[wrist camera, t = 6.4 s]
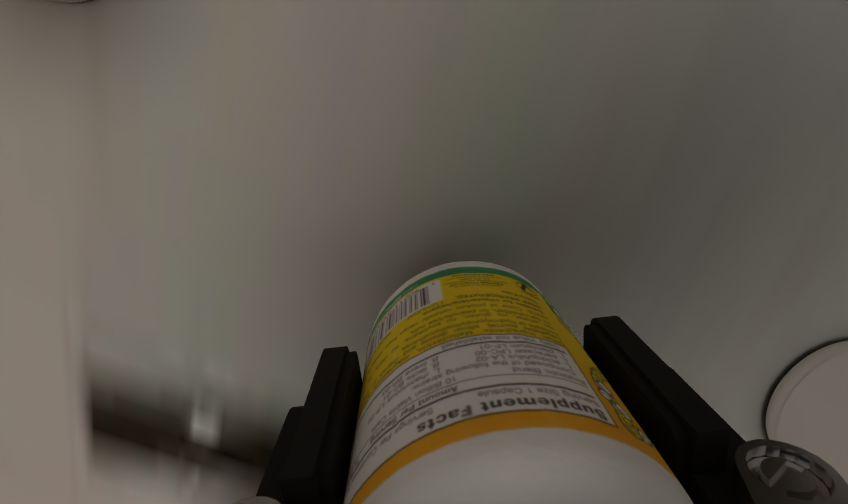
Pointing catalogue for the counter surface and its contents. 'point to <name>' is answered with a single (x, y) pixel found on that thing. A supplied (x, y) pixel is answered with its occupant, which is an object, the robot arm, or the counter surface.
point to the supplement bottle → (492, 404)
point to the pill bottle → (814, 406)
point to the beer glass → (69, 1)
